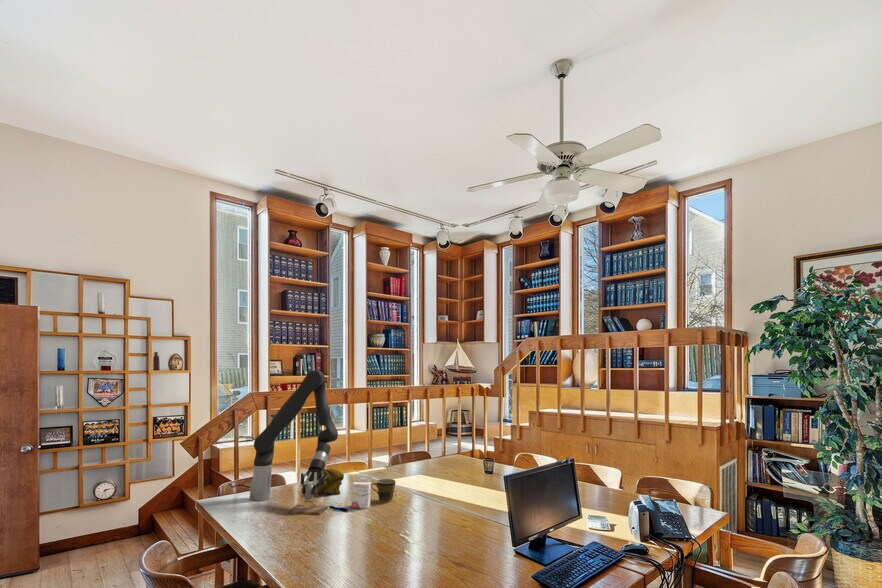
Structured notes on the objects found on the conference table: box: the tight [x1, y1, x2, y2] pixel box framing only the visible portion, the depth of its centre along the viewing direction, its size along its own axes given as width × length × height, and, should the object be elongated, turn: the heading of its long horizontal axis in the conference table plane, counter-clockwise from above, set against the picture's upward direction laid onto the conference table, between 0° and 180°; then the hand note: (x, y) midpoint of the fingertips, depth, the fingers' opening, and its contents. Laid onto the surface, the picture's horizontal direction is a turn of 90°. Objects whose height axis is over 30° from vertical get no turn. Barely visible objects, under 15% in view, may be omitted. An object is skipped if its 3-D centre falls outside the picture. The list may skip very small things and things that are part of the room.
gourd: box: [316, 467, 345, 495], centre depth 264 cm, size 14×14×14 cm
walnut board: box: [287, 503, 329, 516], centre depth 231 cm, size 16×10×1 cm, turn 82°
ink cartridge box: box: [351, 474, 372, 509], centre depth 240 cm, size 9×5×15 cm, turn 84°
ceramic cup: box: [371, 478, 397, 504], centre depth 250 cm, size 13×10×10 cm
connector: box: [304, 482, 314, 503], centre depth 232 cm, size 4×4×9 cm
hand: (307, 493), depth 231 cm, fingers closed on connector, 4 cm apart
